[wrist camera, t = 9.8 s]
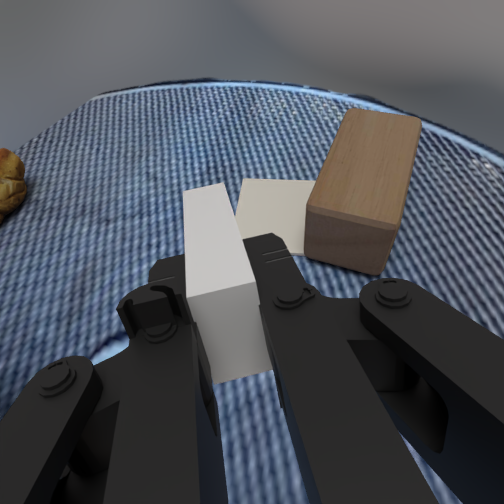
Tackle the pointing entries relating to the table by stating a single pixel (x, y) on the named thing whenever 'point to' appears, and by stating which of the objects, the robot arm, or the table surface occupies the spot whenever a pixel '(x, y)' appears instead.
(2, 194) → the bread roll
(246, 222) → the mat
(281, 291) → the robot arm
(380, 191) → the wooden block
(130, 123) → the table surface
